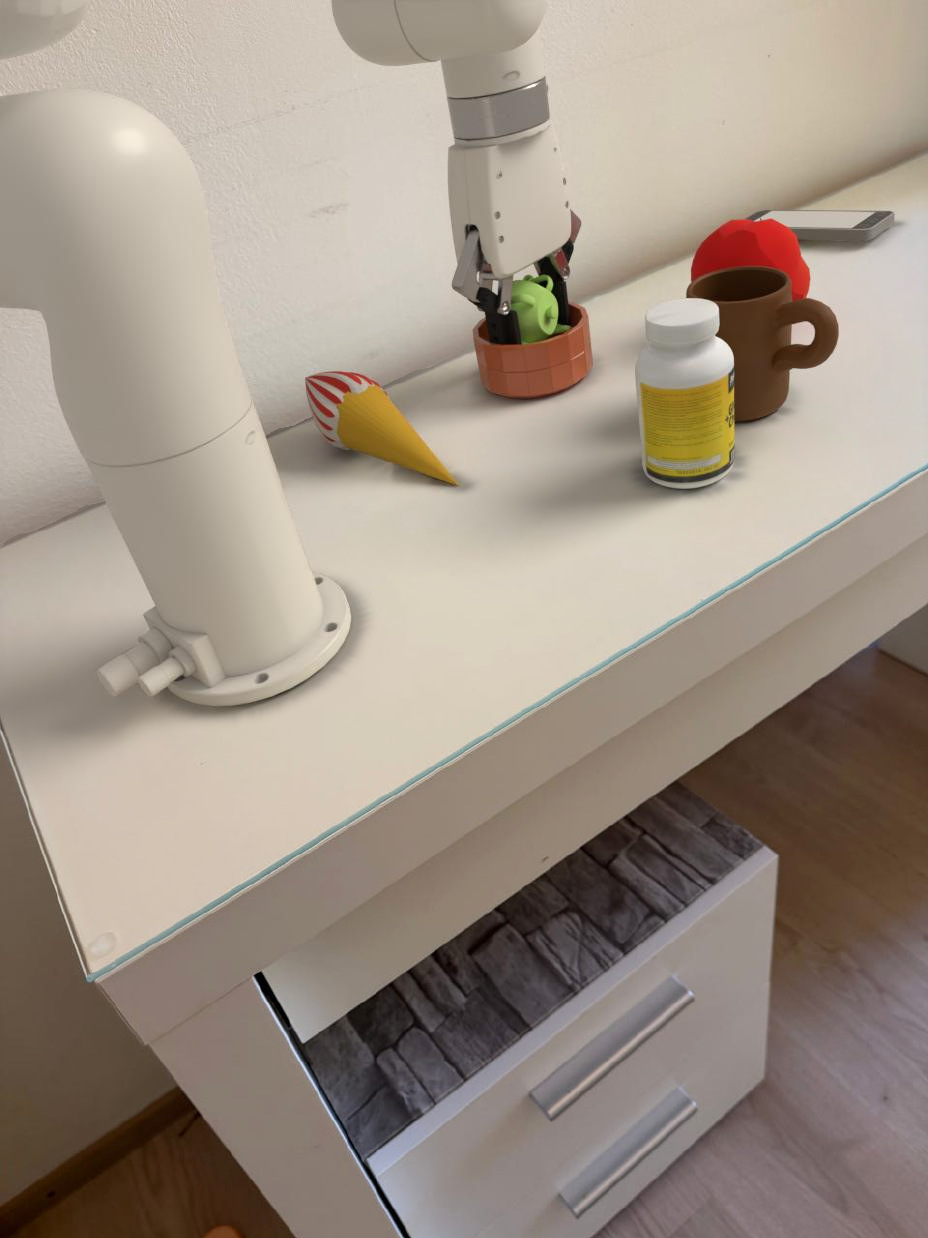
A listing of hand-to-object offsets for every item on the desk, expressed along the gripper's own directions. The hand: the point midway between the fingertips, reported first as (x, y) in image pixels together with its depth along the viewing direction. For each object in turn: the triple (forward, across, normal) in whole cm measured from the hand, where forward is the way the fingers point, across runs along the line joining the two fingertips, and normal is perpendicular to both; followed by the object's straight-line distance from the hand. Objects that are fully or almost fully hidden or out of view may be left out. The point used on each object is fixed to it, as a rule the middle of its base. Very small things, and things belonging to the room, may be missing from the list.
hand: (531, 337), depth 82 cm
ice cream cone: (+4, +17, -3) cm, 18 cm away
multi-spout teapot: (+1, 0, 0) cm, 1 cm away
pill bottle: (+4, +8, +21) cm, 23 cm away
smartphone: (+3, -39, +14) cm, 42 cm away
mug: (+4, -2, +21) cm, 21 cm away
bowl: (+4, 0, 0) cm, 4 cm away
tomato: (+1, -11, +12) cm, 17 cm away
